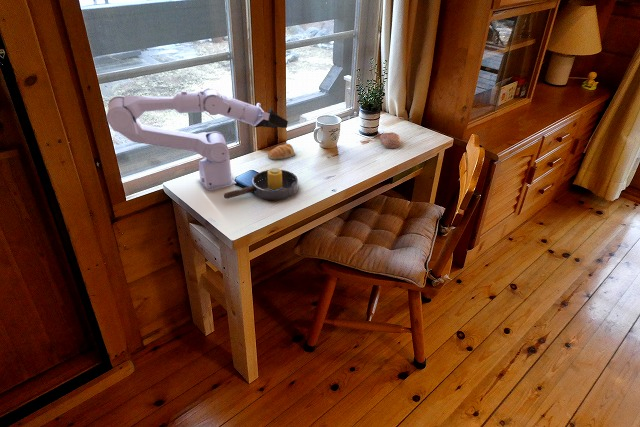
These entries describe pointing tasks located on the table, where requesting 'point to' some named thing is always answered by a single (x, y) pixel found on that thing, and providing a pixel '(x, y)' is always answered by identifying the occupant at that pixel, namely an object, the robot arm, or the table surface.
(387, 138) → the pinkish-brown rounded lump
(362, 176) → the table surface
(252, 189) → the skillet handle
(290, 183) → the skillet
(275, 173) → the yellow cylinder
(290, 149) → the pastry
